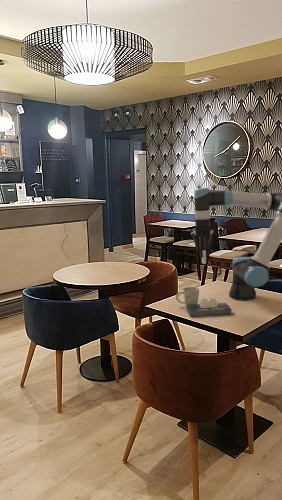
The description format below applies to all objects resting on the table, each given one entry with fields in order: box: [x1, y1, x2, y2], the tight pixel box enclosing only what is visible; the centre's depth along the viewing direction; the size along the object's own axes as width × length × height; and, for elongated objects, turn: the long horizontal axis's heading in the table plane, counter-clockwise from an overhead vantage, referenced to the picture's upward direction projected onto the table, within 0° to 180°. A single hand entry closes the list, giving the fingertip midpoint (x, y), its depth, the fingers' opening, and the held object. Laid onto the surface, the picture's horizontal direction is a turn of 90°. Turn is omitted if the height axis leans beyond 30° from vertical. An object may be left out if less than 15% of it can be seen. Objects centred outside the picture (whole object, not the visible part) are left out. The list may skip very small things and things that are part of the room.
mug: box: [175, 286, 200, 309], centre depth 212 cm, size 8×13×10 cm, turn 78°
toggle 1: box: [199, 298, 209, 308], centre depth 203 cm, size 4×4×4 cm
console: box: [186, 302, 232, 318], centre depth 203 cm, size 21×10×3 cm, turn 94°
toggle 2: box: [207, 297, 218, 308], centre depth 203 cm, size 4×4×4 cm
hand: (204, 263), depth 207 cm, fingers closed
